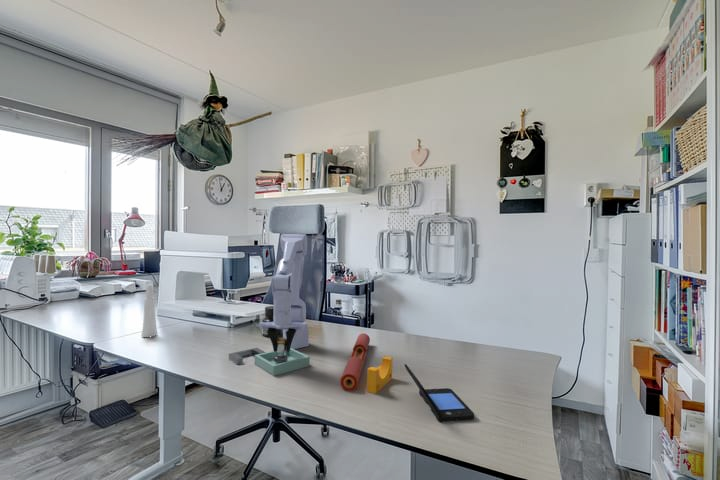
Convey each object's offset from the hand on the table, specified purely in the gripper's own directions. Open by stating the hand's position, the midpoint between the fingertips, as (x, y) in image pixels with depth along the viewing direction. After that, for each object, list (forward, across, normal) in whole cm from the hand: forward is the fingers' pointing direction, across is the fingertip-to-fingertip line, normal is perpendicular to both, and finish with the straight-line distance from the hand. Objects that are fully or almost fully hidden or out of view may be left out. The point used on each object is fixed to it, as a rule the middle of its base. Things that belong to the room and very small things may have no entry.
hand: (282, 350), depth 115 cm
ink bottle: (+5, -14, +35) cm, 38 cm away
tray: (+5, 0, 0) cm, 5 cm away
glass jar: (+3, 0, 0) cm, 3 cm away
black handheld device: (+5, +47, -25) cm, 54 cm away
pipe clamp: (+5, +32, -13) cm, 35 cm away
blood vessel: (+5, +25, +3) cm, 26 cm away
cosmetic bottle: (+5, -66, +29) cm, 72 cm away
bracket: (+5, -13, +5) cm, 15 cm away
